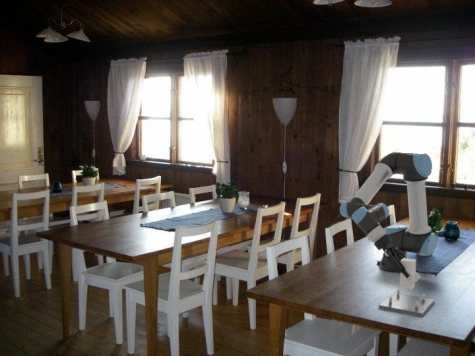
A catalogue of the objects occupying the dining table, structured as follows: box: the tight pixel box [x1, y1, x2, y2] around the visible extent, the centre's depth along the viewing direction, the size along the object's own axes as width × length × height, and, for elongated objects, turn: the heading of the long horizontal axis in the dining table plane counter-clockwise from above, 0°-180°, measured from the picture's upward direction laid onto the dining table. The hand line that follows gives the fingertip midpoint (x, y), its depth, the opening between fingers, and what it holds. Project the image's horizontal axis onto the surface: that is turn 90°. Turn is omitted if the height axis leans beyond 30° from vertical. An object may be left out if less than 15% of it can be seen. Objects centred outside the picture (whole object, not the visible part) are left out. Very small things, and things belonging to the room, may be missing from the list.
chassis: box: [378, 288, 435, 318], centre depth 232 cm, size 20×18×4 cm
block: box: [399, 257, 417, 291], centre depth 230 cm, size 5×5×12 cm
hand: (416, 281), depth 228 cm, fingers closed on block, 5 cm apart
